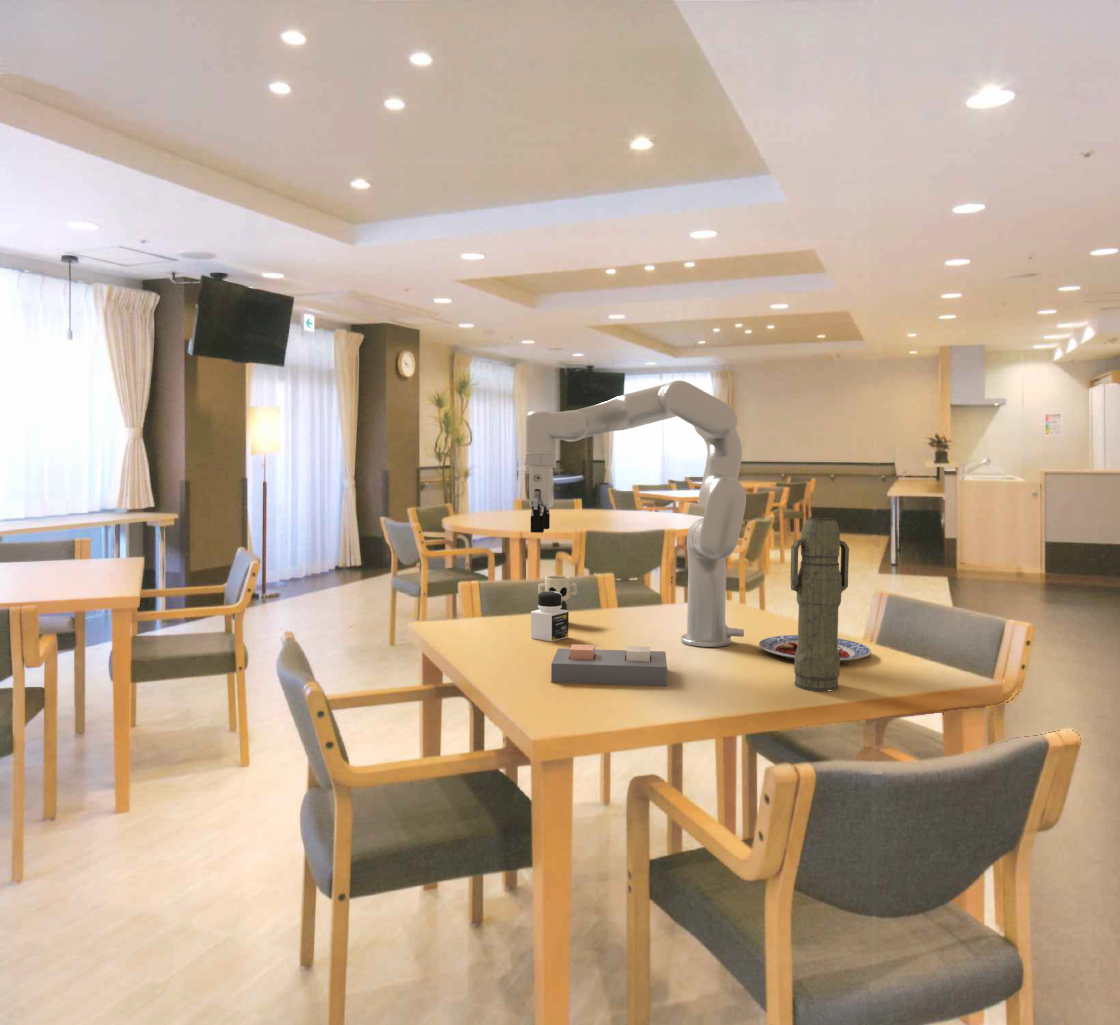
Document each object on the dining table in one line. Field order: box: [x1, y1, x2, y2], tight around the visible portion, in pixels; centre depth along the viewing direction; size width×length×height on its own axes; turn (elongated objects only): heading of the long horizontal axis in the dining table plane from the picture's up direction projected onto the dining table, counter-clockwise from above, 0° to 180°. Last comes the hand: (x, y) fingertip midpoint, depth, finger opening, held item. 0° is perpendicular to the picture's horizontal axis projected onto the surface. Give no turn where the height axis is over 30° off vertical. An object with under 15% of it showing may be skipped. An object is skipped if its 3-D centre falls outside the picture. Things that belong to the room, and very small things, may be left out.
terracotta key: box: [569, 643, 596, 660], centre depth 187 cm, size 5×5×3 cm
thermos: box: [790, 516, 850, 692], centre depth 178 cm, size 9×12×35 cm
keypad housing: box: [550, 647, 668, 687], centre depth 186 cm, size 24×14×4 cm, turn 85°
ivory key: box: [626, 645, 651, 662], centre depth 185 cm, size 5×5×3 cm
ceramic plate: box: [758, 634, 872, 663], centre depth 207 cm, size 26×26×3 cm
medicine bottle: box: [530, 590, 569, 643], centre depth 223 cm, size 7×7×12 cm
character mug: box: [537, 575, 578, 611], centre depth 243 cm, size 11×7×13 cm, turn 93°
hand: (540, 530), depth 214 cm, fingers open, 9 cm apart
